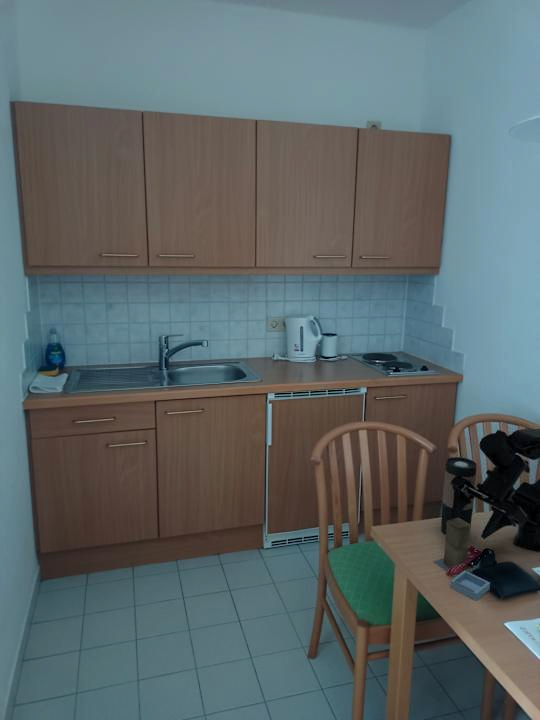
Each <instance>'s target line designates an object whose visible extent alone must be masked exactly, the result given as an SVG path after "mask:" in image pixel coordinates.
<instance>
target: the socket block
mask: <svg viewBox="0 0 540 720" xmlns="http://www.w3.org/2000/svg"><path fill="white" fill-rule="evenodd" d="M490 587H491V582H489V581H488V580H485V579H483V578H482V577H480V576H478V575H475V574H472V572H470V573H469V572H467V571H465V570H464V571H463V572H462V573H460V574H459V575H458V576H456V577H453V579H451V580H450V587H449V588H450V589H452V590H454V591H456V592H458V593H459V594H461V595H464V596H466V597H468V598H470V599H472V600H474V601H476V602H477V601H478V600H479V599H480V598H481V597H482V596H484V594H486V593H487V592H488V591H490Z"/></svg>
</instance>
